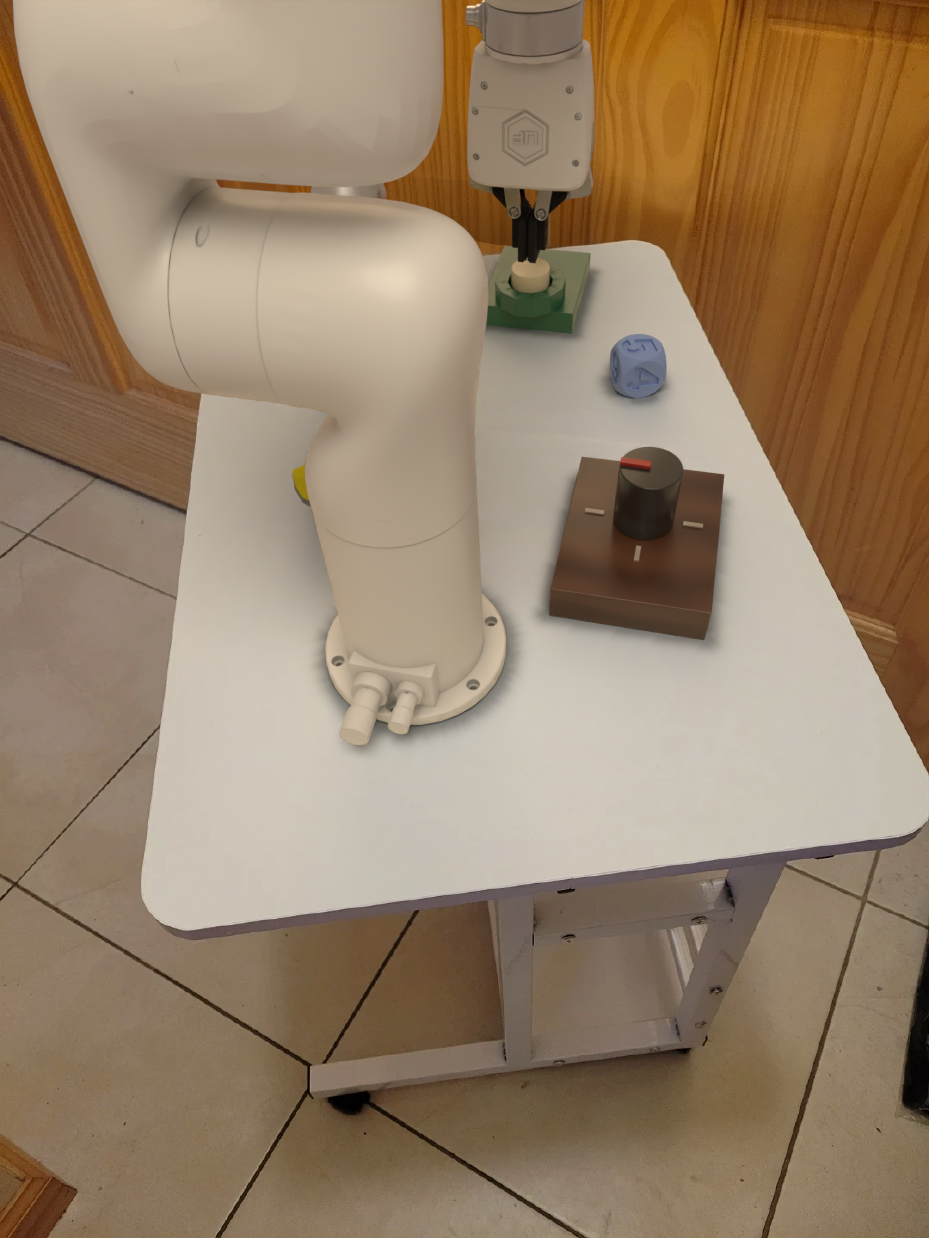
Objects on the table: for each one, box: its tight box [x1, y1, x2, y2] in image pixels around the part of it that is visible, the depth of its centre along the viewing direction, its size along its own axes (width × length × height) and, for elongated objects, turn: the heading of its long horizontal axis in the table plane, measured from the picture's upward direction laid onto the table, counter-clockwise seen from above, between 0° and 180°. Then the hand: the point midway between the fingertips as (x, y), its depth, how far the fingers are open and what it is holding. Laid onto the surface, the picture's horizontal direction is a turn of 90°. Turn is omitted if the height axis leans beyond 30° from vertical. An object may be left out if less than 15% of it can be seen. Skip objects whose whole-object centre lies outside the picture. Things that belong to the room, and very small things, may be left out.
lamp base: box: [486, 245, 592, 334], centre depth 88 cm, size 12×9×4 cm
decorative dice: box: [609, 333, 668, 399], centre depth 79 cm, size 4×4×4 cm
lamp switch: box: [511, 258, 550, 293], centre depth 84 cm, size 4×4×2 cm
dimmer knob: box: [613, 446, 684, 540], centre depth 64 cm, size 4×4×5 cm
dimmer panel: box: [548, 456, 725, 641], centre depth 66 cm, size 14×11×3 cm
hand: (529, 255), depth 82 cm, fingers closed
